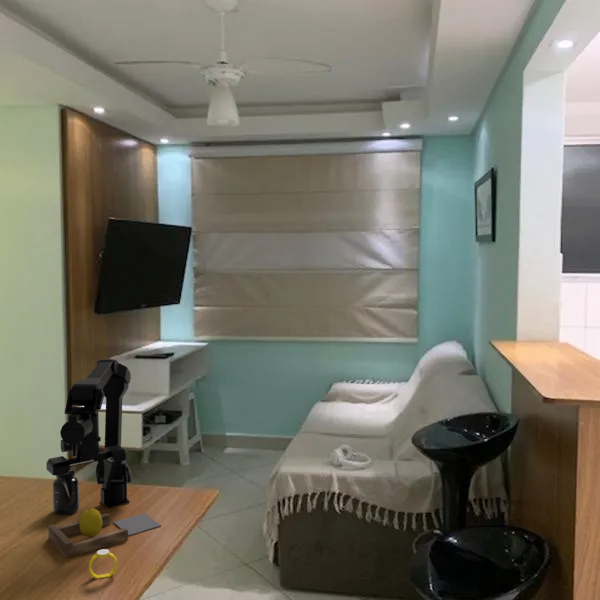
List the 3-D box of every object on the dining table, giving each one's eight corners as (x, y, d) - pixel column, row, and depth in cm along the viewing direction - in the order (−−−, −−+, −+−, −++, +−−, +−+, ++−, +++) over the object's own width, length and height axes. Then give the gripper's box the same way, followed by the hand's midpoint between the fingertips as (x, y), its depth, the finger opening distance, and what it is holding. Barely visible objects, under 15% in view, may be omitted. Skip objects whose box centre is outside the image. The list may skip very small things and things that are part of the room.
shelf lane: (107, 522, 167) (107, 509, 166) (127, 539, 157) (127, 526, 156) (48, 539, 157) (48, 525, 156) (66, 558, 147) (66, 544, 146)
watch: (116, 573, 141) (117, 547, 141) (116, 579, 138) (118, 553, 138) (88, 575, 139) (89, 549, 139) (88, 581, 136) (89, 555, 136)
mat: (144, 514, 172) (144, 513, 172) (160, 526, 164) (160, 525, 164) (113, 523, 166) (113, 521, 166) (129, 536, 158) (129, 535, 158)
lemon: (107, 535, 159) (106, 505, 158) (93, 544, 154) (92, 513, 153) (89, 532, 161) (88, 502, 160) (75, 541, 155) (74, 510, 155)
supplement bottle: (48, 511, 173) (47, 470, 172) (70, 503, 179) (69, 463, 178) (62, 518, 169) (61, 475, 168) (84, 509, 174) (83, 468, 174)
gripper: (110, 419, 167) (111, 475, 168) (38, 431, 155) (40, 491, 157) (127, 428, 159) (128, 487, 160) (52, 442, 147) (54, 505, 148)
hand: (88, 492), depth 156 cm, fingers open, 9 cm apart
